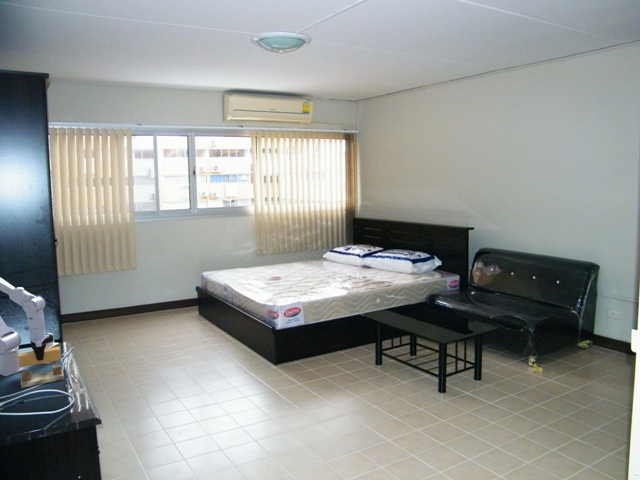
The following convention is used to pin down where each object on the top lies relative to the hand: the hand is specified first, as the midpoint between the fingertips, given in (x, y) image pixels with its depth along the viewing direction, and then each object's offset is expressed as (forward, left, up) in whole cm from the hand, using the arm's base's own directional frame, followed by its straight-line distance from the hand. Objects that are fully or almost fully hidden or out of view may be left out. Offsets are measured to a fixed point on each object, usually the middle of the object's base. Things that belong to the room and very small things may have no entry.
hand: (40, 358), depth 214 cm
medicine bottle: (-11, +9, -6) cm, 16 cm away
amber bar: (0, 0, -2) cm, 2 cm away
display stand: (+8, -4, -6) cm, 11 cm away
